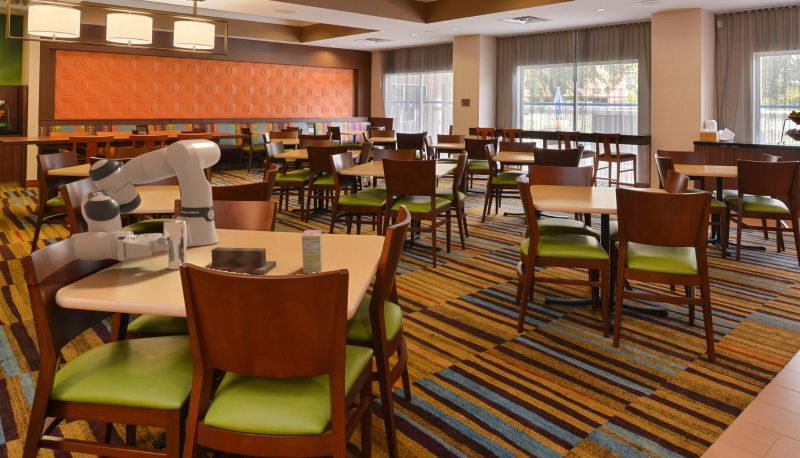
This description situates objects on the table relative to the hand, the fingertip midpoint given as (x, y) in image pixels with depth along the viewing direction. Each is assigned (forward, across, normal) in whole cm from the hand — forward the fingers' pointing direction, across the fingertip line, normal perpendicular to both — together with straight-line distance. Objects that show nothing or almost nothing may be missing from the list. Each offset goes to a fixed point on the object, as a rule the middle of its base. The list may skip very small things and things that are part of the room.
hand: (172, 243), depth 193 cm
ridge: (+21, +5, -8) cm, 23 cm away
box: (+44, +9, -8) cm, 45 cm away
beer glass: (+1, 0, -8) cm, 8 cm away
